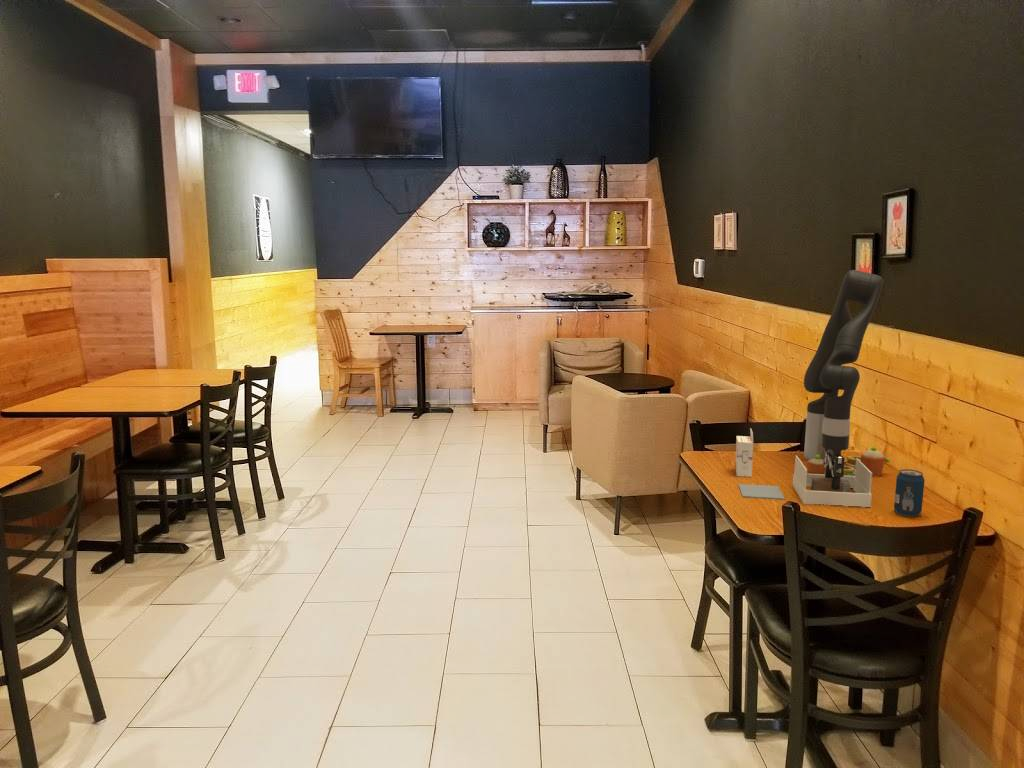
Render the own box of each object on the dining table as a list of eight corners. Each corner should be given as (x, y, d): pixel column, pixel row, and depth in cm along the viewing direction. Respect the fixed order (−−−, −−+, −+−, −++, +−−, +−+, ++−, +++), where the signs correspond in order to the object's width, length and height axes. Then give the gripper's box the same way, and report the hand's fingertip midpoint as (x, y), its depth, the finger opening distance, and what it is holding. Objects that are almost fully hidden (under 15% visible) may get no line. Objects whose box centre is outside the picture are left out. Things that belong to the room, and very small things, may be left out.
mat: (738, 485, 237) (738, 483, 237) (778, 487, 235) (778, 486, 235) (742, 497, 225) (742, 495, 225) (784, 499, 223) (784, 498, 223)
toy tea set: (855, 463, 262) (857, 437, 260) (893, 475, 248) (896, 447, 246) (798, 472, 252) (800, 444, 250) (834, 485, 238) (836, 455, 236)
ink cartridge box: (734, 469, 255) (736, 426, 252) (749, 469, 254) (751, 427, 251) (736, 476, 246) (738, 432, 244) (752, 477, 245) (754, 433, 243)
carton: (792, 485, 237) (794, 454, 235) (854, 488, 234) (856, 457, 232) (804, 503, 219) (806, 470, 218) (870, 507, 216) (873, 474, 214)
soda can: (912, 508, 215) (916, 468, 213) (926, 517, 208) (930, 475, 206) (888, 509, 215) (892, 468, 213) (901, 517, 208) (905, 475, 206)
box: (810, 492, 230) (811, 477, 229) (845, 494, 228) (846, 478, 227) (813, 497, 225) (815, 481, 224) (849, 499, 223) (850, 483, 222)
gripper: (855, 438, 215) (851, 492, 218) (843, 427, 229) (839, 478, 232) (828, 437, 217) (824, 491, 219) (817, 426, 230) (813, 477, 233)
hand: (831, 485), depth 226 cm, fingers open, 8 cm apart
